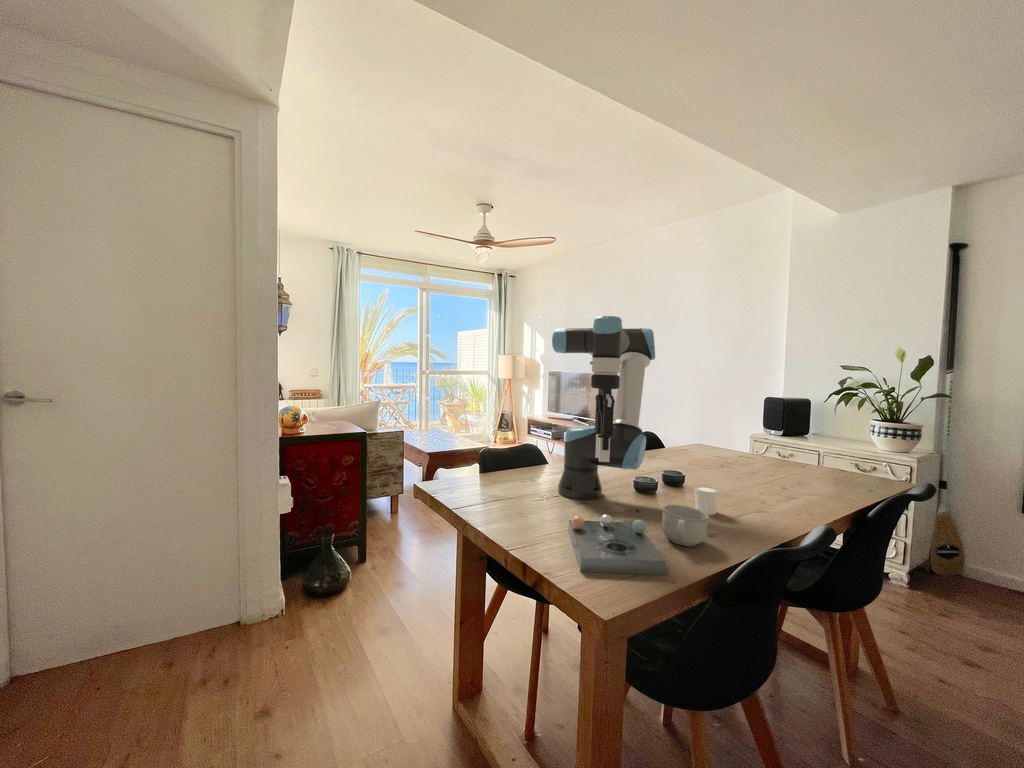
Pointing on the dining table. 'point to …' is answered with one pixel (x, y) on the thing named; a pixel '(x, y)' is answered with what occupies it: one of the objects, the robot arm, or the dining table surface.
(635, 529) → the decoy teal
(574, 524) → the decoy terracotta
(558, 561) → the dining table surface
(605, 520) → the steel ball
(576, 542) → the plate
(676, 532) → the teacup
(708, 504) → the shot glass
